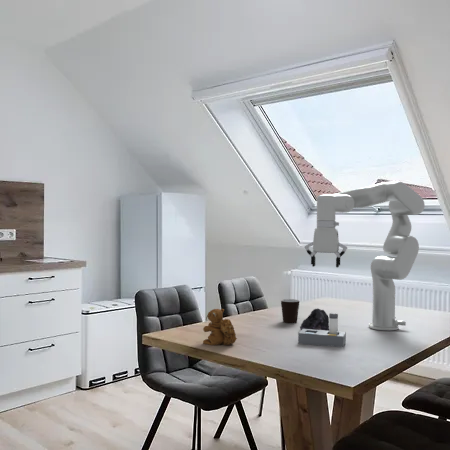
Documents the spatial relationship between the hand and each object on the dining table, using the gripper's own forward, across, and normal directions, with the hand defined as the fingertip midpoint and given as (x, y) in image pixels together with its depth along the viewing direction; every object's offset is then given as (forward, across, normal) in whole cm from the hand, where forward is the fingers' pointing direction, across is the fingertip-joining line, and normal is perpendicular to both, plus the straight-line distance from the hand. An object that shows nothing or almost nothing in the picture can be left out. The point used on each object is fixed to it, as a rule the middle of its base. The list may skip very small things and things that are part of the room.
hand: (325, 266), depth 225 cm
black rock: (+29, +5, -8) cm, 30 cm away
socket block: (+28, -1, +14) cm, 31 cm away
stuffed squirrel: (+29, +35, +28) cm, 53 cm away
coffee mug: (+28, +19, -24) cm, 42 cm away
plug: (+28, -5, +14) cm, 31 cm away
